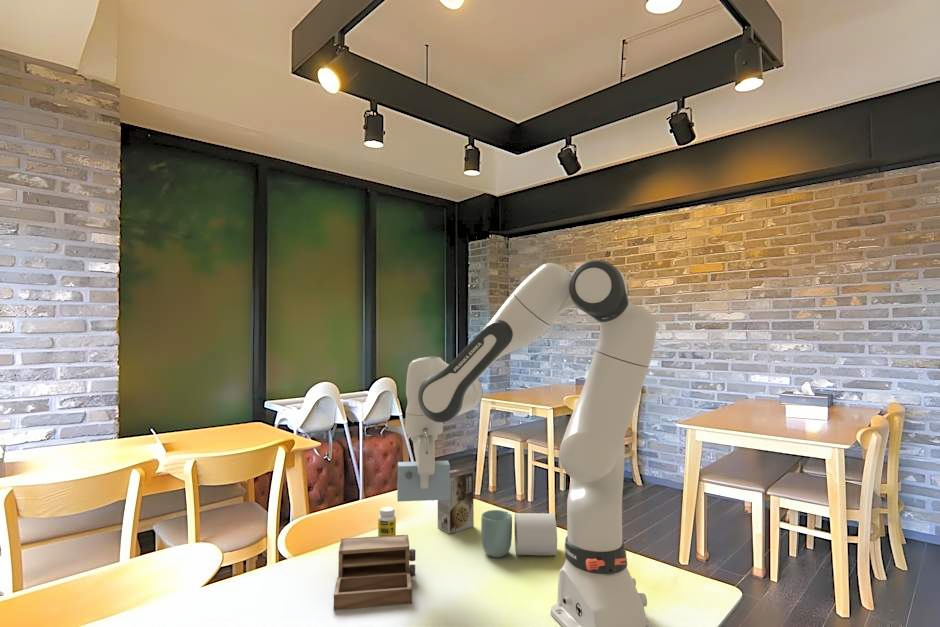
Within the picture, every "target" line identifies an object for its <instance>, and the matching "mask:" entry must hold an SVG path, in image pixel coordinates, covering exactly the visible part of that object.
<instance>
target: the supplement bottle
mask: <svg viewBox="0 0 940 627" xmlns="http://www.w3.org/2000/svg"><path fill="white" fill-rule="evenodd" d="M395 512H396V511H395V508H394V507H392V506H384V507H381V508H380V509H379V515H378V524H377V526H378V527H377V528H378V530H377V532H378V533H377V537H378V536H394V535H397V534H396V532H397V531H396V529H397V528H396V526H397V524H396V523H397V519H396V518H397V516H396V515H395Z"/></svg>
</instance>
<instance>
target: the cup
mask: <svg viewBox="0 0 940 627" xmlns="http://www.w3.org/2000/svg"><path fill="white" fill-rule="evenodd" d="M512 516H513V515H512V514H511V513H510V512H508V511H506V510H501V509H490V510H486V511H484V512H483V513H482V514H481V519H480V522H481V526H480V529H481V542H482V543H481V545H482V549H483V550H484V553H485V554H486V555H488V556H489V557H491V558H501V557H502V558H503V557H505V556H506V555H508V554H509V552H510V550H511V547H512V541H513V517H512Z"/></svg>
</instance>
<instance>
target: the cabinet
mask: <svg viewBox="0 0 940 627" xmlns="http://www.w3.org/2000/svg"><path fill="white" fill-rule="evenodd" d="M415 561H416V549H414V548H411V549H410V540H409V534H396V535H394V536H378V535H377V536H365V537H364V536H363V537H352V538H351V537H348V538H341V539H340V543H339V547H338V576H337V577H336V582H335V588H334V592H333V610H347V609H357V608H359V609H360V608H369V607H371V608H372V607H381V606H394V605H406V604H407V605H409V604H412V600H413V598H412V597H413V596H412V595H413V594H412V592H413V588H412V577H415V576H416V564H412V563H411V564H410V562H415Z"/></svg>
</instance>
